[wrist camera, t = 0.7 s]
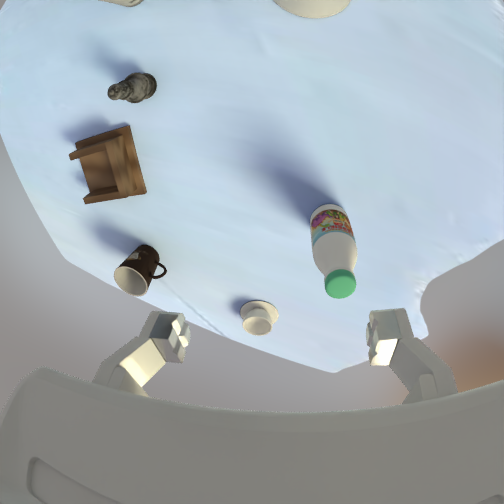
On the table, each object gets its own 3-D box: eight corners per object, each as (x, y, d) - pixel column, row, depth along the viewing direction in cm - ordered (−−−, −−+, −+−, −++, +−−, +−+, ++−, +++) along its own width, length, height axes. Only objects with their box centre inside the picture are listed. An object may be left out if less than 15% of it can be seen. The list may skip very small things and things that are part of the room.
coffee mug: (132, 263, 69) (114, 288, 61) (133, 236, 64) (113, 261, 56) (173, 277, 70) (159, 305, 62) (177, 251, 65) (161, 279, 57)
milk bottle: (347, 235, 57) (364, 305, 40) (311, 237, 58) (314, 308, 42) (347, 201, 52) (369, 265, 36) (308, 204, 54) (313, 268, 38)
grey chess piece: (158, 99, 45) (125, 109, 35) (131, 101, 46) (95, 112, 36) (158, 70, 42) (124, 72, 32) (131, 73, 42) (93, 78, 32)
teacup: (241, 296, 71) (238, 310, 67) (281, 302, 70) (280, 316, 66) (239, 322, 77) (236, 335, 73) (275, 327, 76) (274, 341, 72)
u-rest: (77, 141, 51) (62, 149, 47) (129, 125, 48) (115, 131, 44) (95, 200, 60) (82, 211, 55) (146, 192, 57) (135, 203, 52)
